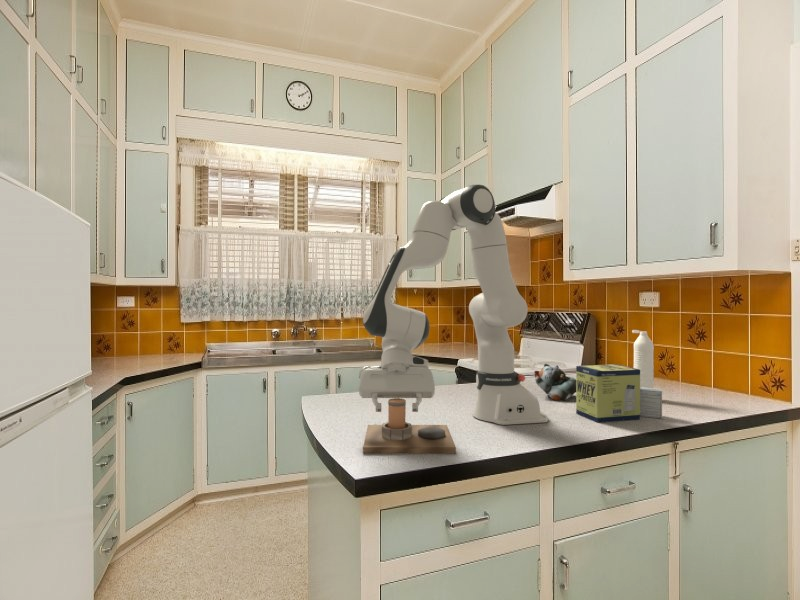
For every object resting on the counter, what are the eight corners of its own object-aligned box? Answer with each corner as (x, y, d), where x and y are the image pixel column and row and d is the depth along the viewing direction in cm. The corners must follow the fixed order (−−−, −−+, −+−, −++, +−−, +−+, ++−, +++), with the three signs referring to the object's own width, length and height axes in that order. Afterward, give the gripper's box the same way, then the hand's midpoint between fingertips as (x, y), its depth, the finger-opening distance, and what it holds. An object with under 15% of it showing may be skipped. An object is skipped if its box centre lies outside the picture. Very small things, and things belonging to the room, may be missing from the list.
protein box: (575, 413, 138) (575, 365, 138) (616, 411, 141) (616, 363, 141) (597, 423, 128) (597, 370, 127) (641, 419, 131) (641, 368, 131)
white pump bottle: (657, 400, 156) (658, 331, 156) (641, 401, 155) (641, 331, 155) (641, 395, 164) (641, 329, 164) (625, 395, 164) (625, 330, 163)
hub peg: (405, 432, 113) (405, 398, 113) (405, 437, 109) (405, 402, 109) (388, 432, 113) (388, 398, 113) (387, 437, 109) (388, 402, 109)
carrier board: (446, 430, 120) (446, 415, 120) (455, 453, 102) (455, 436, 102) (367, 430, 120) (368, 415, 120) (363, 453, 102) (363, 436, 102)
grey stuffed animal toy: (562, 403, 151) (542, 367, 154) (540, 409, 161) (522, 375, 164) (588, 386, 158) (569, 352, 161) (566, 393, 168) (548, 361, 172)
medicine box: (660, 415, 136) (660, 388, 136) (662, 419, 132) (662, 390, 132) (632, 412, 139) (632, 386, 139) (633, 416, 135) (633, 388, 135)
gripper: (358, 359, 118) (355, 404, 108) (433, 359, 118) (436, 404, 108) (360, 373, 122) (357, 417, 112) (432, 373, 122) (435, 417, 112)
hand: (396, 410), depth 110 cm, fingers open, 8 cm apart
